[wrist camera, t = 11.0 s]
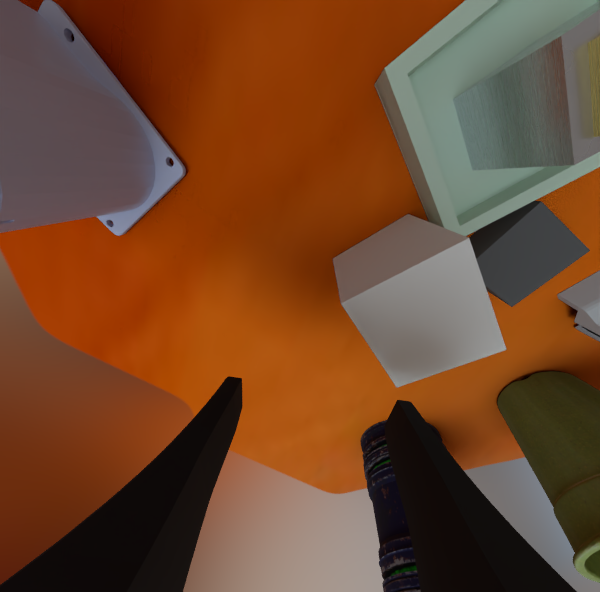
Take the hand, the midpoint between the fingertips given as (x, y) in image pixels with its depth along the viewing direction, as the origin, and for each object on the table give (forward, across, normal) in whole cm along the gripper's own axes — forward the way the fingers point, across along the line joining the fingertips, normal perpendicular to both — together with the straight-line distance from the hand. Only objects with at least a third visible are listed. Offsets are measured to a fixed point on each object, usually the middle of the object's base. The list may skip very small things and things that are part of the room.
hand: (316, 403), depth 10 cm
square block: (+10, -12, -6) cm, 17 cm away
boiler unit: (+10, -5, -3) cm, 12 cm away
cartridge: (+9, -8, -14) cm, 18 cm away
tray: (+10, -8, -14) cm, 19 cm away
